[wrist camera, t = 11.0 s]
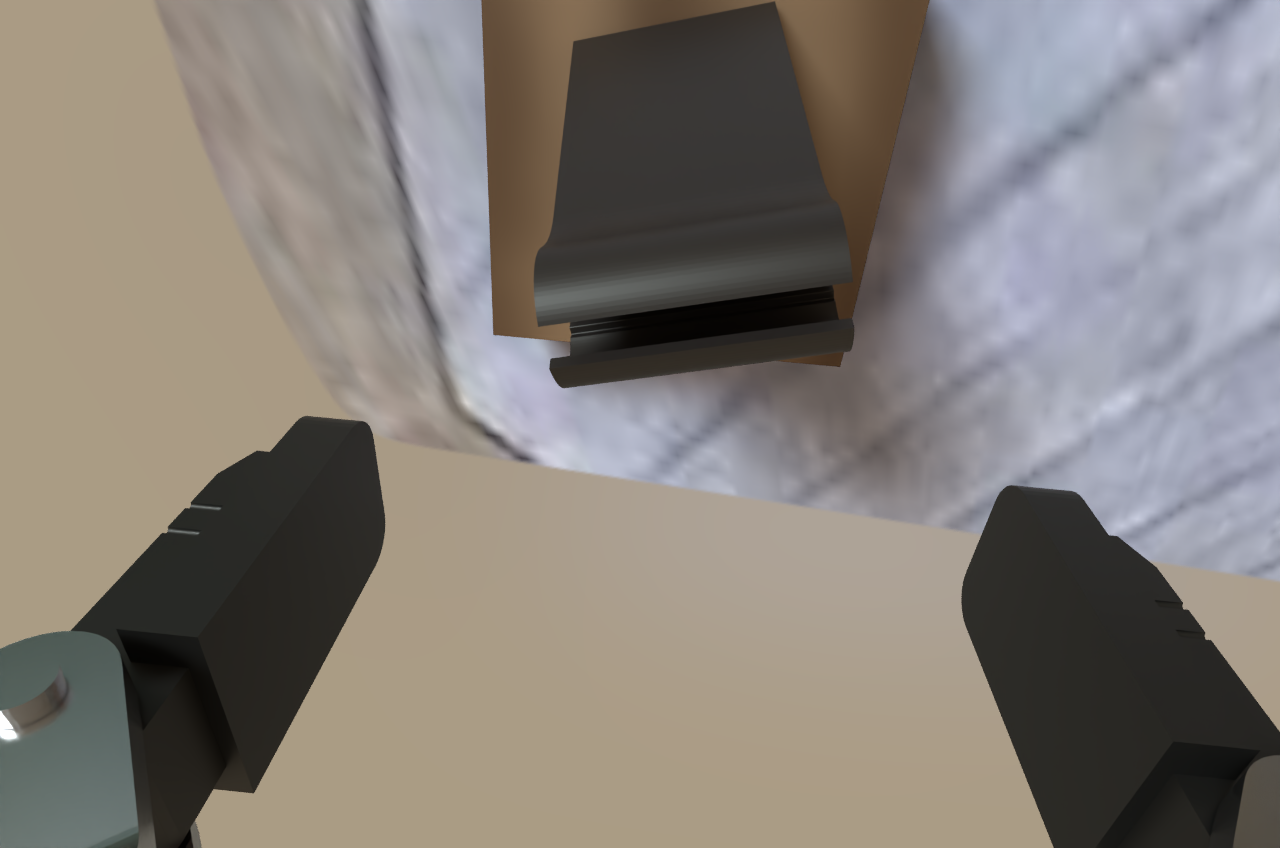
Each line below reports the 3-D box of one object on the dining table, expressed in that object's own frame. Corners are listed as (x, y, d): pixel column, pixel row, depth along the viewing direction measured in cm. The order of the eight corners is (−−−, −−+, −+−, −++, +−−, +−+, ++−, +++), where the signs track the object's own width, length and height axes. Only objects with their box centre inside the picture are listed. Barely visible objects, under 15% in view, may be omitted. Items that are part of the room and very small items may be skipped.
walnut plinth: (905, -44, 24) (940, -45, 21) (824, 322, 31) (840, 366, 28) (508, -78, 24) (478, -85, 21) (515, 294, 31) (493, 334, 28)
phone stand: (795, 289, 26) (860, 498, 16) (627, 312, 27) (588, 524, 17) (775, 0, 22) (849, 35, 11) (575, 38, 22) (477, 103, 12)
